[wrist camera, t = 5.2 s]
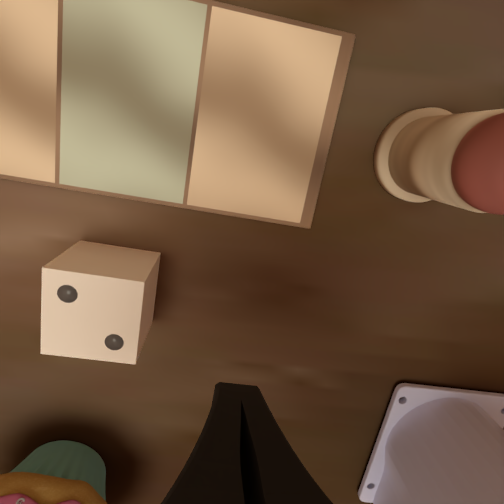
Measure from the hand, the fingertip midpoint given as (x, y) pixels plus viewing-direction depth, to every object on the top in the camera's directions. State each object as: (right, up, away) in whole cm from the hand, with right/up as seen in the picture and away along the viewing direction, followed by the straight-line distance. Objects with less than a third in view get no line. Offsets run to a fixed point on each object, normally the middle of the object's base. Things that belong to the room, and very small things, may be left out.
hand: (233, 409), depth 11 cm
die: (-6, +4, +7) cm, 10 cm away
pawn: (+9, +10, +6) cm, 15 cm away
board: (-5, +12, +5) cm, 14 cm away
